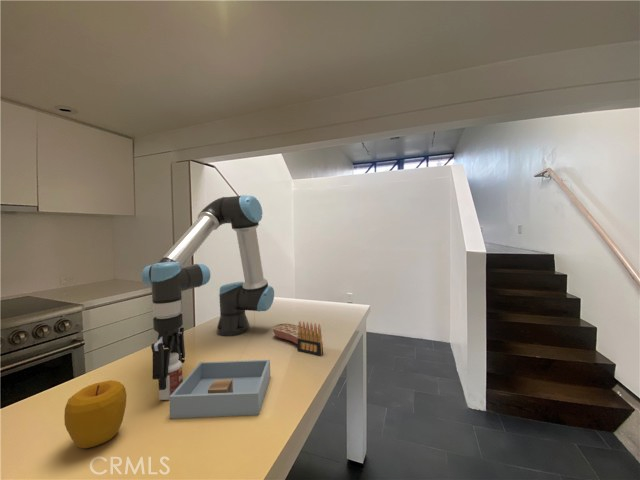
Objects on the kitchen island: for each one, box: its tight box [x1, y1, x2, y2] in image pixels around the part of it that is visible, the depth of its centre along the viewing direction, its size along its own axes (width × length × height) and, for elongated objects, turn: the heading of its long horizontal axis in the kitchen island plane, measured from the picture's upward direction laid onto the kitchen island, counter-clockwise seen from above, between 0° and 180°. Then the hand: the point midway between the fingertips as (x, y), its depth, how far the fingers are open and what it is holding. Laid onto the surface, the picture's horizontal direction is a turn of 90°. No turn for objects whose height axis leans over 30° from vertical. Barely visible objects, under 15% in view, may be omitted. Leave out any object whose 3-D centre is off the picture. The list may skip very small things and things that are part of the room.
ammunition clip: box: [296, 320, 324, 357], centre depth 105 cm, size 11×2×12 cm, turn 61°
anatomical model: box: [272, 323, 314, 345], centre depth 117 cm, size 23×10×5 cm, turn 48°
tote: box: [168, 359, 271, 419], centre depth 78 cm, size 19×23×6 cm
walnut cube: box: [208, 379, 233, 394], centre depth 74 cm, size 5×5×5 cm
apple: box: [63, 379, 128, 449], centre depth 62 cm, size 11×11×13 cm
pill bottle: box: [167, 353, 184, 395], centre depth 80 cm, size 6×6×11 cm
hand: (171, 391), depth 80 cm, fingers closed on pill bottle, 6 cm apart
